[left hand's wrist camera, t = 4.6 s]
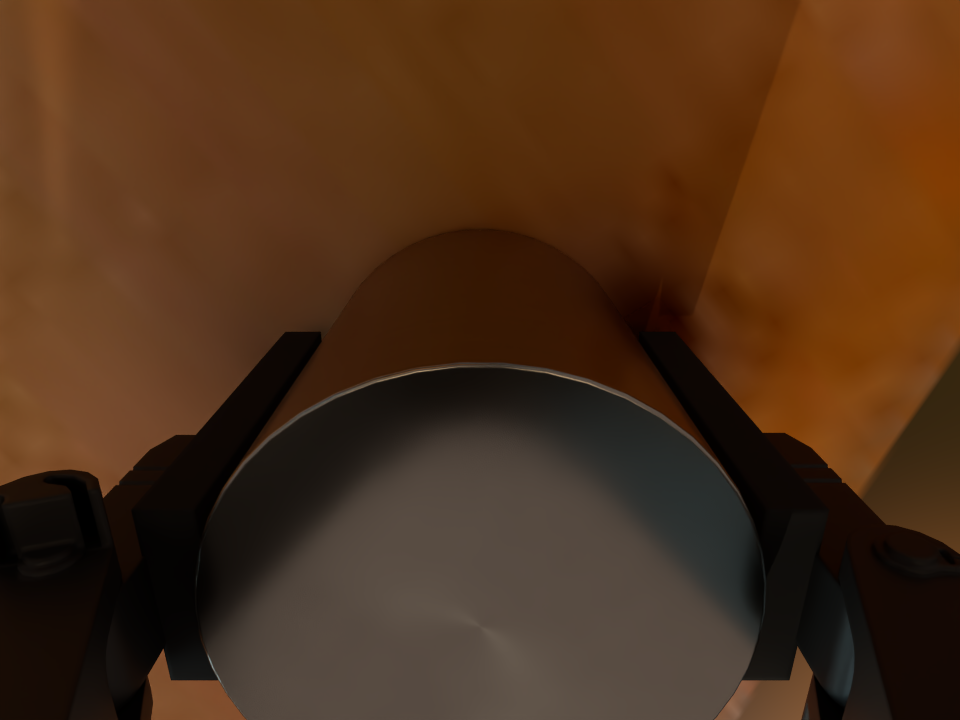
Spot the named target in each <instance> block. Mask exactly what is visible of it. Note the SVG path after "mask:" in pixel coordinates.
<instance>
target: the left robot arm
mask: <svg viewBox="0 0 960 720" xmlns="http://www.w3.org/2000/svg"><path fill="white" fill-rule="evenodd" d="M321 342H322V340H321V332H285V333H284V334H283V335H282V336H281V338H280V339H279V340H278V341H277V342H276V343H275V344H274V346H273V347H272V348H271V349H270V350H269V351H268V353H267V354H266V355H265V356H264V357H263V358H262V359H261V361H260V362H259V363H258V364H257V365H256V366H255V368H254V369H253V370H252V371H251V372H250V373H249V374H248V376H247V377H246V378H245V379H244V380H243V381H242V383H241V384H240V385H239V386H238V387H237V388H236V389H235V391H234V392H233V393H232V394H231V395H230V396H229V398H228V399H227V400H226V401H225V402H224V403H223V404H222V406H221V407H220V408H219V409H218V410H217V411H216V412H215V414H214V415H213V416H212V417H211V418H210V419H209V421H208V422H207V423H206V424H205V425H204V426H203V427H202V429H201V430H200V431H199V432H198V433H197V434H196V435H175V436H174V437H172V438H170V439H168V440H166V441H165V442H163V443H161V444H159V445H158V446H156V447H154V448H152V449H150V450H149V451H148V452H147V453H146V454H145V455H144V456H143V458H142V459H141V460H140V461H139V462H138V463H137V464H136V465H135V466H134V467H133V471H129V472H128V473H127V474H126V475H125V476H124V477H123V478H122V479H121V480H120V481H119V485H116V486H115V487H114V488H113V489H112V490H111V491H110V492H109V493H108V494H107V495H106V496H105V497H104V498H103V497H102V493H101V489H100V485H99V481H98V478H96V477H95V476H93V475H92V474H90V473H88V472H83V471H77V470H59V471H48V472H43V473H39V474H35V475H30V476H26V477H23V478H20V479H17V480H15V481H12V482H10V483H7V484H4V485H2V486H0V720H151V714H152V706H153V699H152V693H151V687H150V683H149V679H148V676H147V675H148V674H149V672H150V670H151V669H152V667H153V665H154V664H155V662H156V660H157V658H158V657H159V655H160V653H161V652H162V650H163V648H164V652H165V657H166V661H167V665H168V669H169V674H170V678H171V680H218V678H217V676H216V674H215V673H214V671H213V669H212V667H211V665H210V662H209V659H208V657H207V654H206V651H205V649H204V646H203V643H202V641H201V637H200V632H199V627H198V622H197V617H196V612H195V591H194V575H195V568H196V560H197V553H198V547H199V544H200V540H201V537H202V534H203V531H204V527H205V524H206V521H207V518H208V516H209V514H210V512H211V510H212V508H213V506H214V504H215V502H216V500H217V498H218V496H219V494H220V492H221V490H222V488H223V487H224V485H225V484H226V482H227V481H228V479H229V478H230V476H231V475H232V473H233V472H234V470H235V469H236V467H237V466H238V464H239V463H240V461H241V460H242V459H243V457H244V456H245V454H246V453H247V451H248V450H249V448H250V447H251V445H252V444H253V442H254V441H255V439H256V438H257V436H258V435H259V433H260V432H261V430H262V429H263V427H264V426H265V425H266V423H267V422H268V420H269V419H270V417H271V416H272V414H273V413H274V411H275V410H276V408H277V407H278V405H279V404H280V402H281V401H282V399H283V398H284V396H285V395H286V394H287V392H288V391H289V389H290V388H291V386H292V385H293V383H294V382H295V380H296V379H297V377H298V376H299V374H300V373H301V371H302V370H303V368H304V367H305V365H306V364H307V362H308V361H309V360H310V358H311V357H312V355H313V354H314V352H315V351H316V349H317V348H318V346H319V345H320V343H321ZM639 343H640V344H641V346H642V347H643V349H644V350H645V352H646V353H647V355H648V356H649V358H650V359H651V361H652V362H653V364H654V365H655V367H656V368H657V369H658V371H659V372H660V374H661V375H662V377H663V378H664V380H665V381H666V383H667V384H668V386H669V387H670V389H671V390H672V392H673V393H674V395H675V396H676V397H677V399H678V400H679V402H680V403H681V405H682V406H683V408H684V409H685V411H686V412H687V414H688V415H689V417H690V418H691V420H692V421H693V423H694V424H695V426H696V427H697V428H698V430H699V431H700V433H701V434H702V436H703V437H704V439H705V440H706V442H707V443H708V445H709V446H710V448H711V449H712V451H713V452H714V454H715V455H716V456H717V458H718V459H719V461H720V462H721V464H722V465H723V467H724V468H725V470H726V471H727V473H728V474H729V476H730V477H731V479H732V480H733V482H734V483H735V485H736V486H737V487H738V489H739V491H740V493H741V495H742V497H743V499H744V501H745V503H746V505H747V507H748V509H749V511H750V513H751V515H752V517H753V519H754V523H755V526H756V529H757V532H758V536H759V539H760V542H761V546H762V549H763V557H764V564H765V572H766V602H765V615H764V619H763V624H762V629H761V634H760V638H759V642H758V645H757V647H756V650H755V653H754V655H753V658H752V660H751V663H750V666H749V668H748V670H747V672H746V674H745V675H744V677H743V679H742V680H790V675H791V671H792V667H793V663H794V658H795V654H796V650H797V646H798V647H799V649H800V651H801V653H802V654H803V656H804V658H805V659H806V661H807V663H808V664H809V666H810V668H811V670H812V671H813V676H812V679H811V684H810V687H809V691H808V695H807V699H806V703H805V707H804V711H803V715H802V719H801V720H960V554H959V553H957V552H956V551H954V550H953V549H951V548H950V547H948V546H947V545H945V544H944V543H943V542H940V541H938V540H936V539H934V538H932V537H929V536H927V535H925V534H923V533H920V532H917V531H914V530H910V529H906V528H902V527H899V526H893V525H886V524H885V523H884V522H883V521H882V520H881V519H880V518H879V517H878V516H877V515H876V514H875V513H874V512H873V511H872V510H871V509H870V508H869V507H868V506H867V505H866V504H865V503H864V502H863V501H862V500H861V499H860V498H859V497H858V496H857V494H856V493H855V492H854V491H853V490H852V489H851V488H850V487H849V486H848V485H847V484H846V483H842V479H841V478H840V477H839V476H838V475H837V474H836V473H835V472H834V471H833V470H832V469H831V468H828V465H827V464H826V463H825V462H824V461H823V460H822V458H821V457H820V456H819V455H818V454H817V453H816V452H815V451H814V450H813V449H812V448H811V447H809V446H807V445H805V444H804V443H802V442H800V441H798V440H796V439H795V438H793V437H791V436H789V435H788V434H786V433H762V432H761V430H760V429H759V428H758V427H757V426H756V425H755V424H754V422H753V421H752V420H751V419H750V418H749V417H748V415H747V414H746V413H745V412H744V411H743V410H742V409H741V407H740V406H739V405H738V404H737V403H736V402H735V400H734V399H733V398H732V397H731V396H730V395H729V394H728V392H727V391H726V390H725V389H724V388H723V387H722V385H721V384H720V383H719V382H718V381H717V380H716V379H715V377H714V376H713V375H712V374H711V373H710V372H709V371H708V369H707V368H706V367H705V366H704V365H703V364H702V362H701V361H700V360H699V359H698V358H697V357H696V356H695V354H694V353H693V352H692V351H691V350H690V349H689V347H688V346H687V345H686V344H685V343H684V342H683V341H682V339H681V338H680V337H679V336H678V335H677V334H676V332H640V334H639Z"/></svg>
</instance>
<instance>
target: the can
mask: <svg viewBox="0 0 960 720" xmlns="http://www.w3.org/2000/svg"><path fill="white" fill-rule="evenodd" d="M194 591H195V612H196V617H197V622H198V627H199V632H200V637H201V641H202V643H203V646H204V649H205V651H206V654H207V657H208V659H209V662H210V665H211V667H212V669H213V671H214V673H215V674H216V676H217V678H218V680H219V682H220V683H221V685H222V687H223V689H224V691H225V693H226V694H227V695H228V697H229V698H230V699H231V701H232V702H233V703H234V705H235V706H236V707H237V709H238V710H239V711H240V713H241V714H242V715H243V716H244V717H245V719H246V720H714V719H715V718H716V717H717V716H718V714H719V713H720V712H721V710H722V709H723V708H724V706H725V705H726V704H727V702H728V701H729V700H730V699H731V697H732V696H733V695H734V693H735V691H736V690H737V688H738V686H739V684H740V682H741V681H742V679H743V677H744V675H745V674H746V672H747V670H748V668H749V666H750V663H751V660H752V658H753V655H754V653H755V650H756V647H757V645H758V642H759V638H760V634H761V629H762V624H763V619H764V615H765V602H766V572H765V564H764V557H763V549H762V546H761V542H760V539H759V536H758V532H757V529H756V526H755V523H754V519H753V517H752V515H751V513H750V511H749V509H748V507H747V505H746V503H745V501H744V499H743V497H742V495H741V493H740V491H739V489H738V487H737V486H736V485H735V483H734V482H733V480H732V479H731V477H730V476H729V474H728V473H727V471H726V470H725V468H724V467H723V465H722V464H721V462H720V461H719V459H718V458H717V456H716V455H715V454H714V452H713V451H712V449H711V448H710V446H709V445H708V443H707V442H706V440H705V439H704V437H703V436H702V434H701V433H700V431H699V430H698V428H697V427H696V426H695V424H694V423H693V421H692V420H691V418H690V417H689V415H688V414H687V412H686V411H685V409H684V408H683V406H682V405H681V403H680V402H679V400H678V399H677V397H676V396H675V395H674V393H673V392H672V390H671V389H670V387H669V386H668V384H667V383H666V381H665V380H664V378H663V377H662V375H661V374H660V372H659V371H658V369H657V368H656V367H655V365H654V364H653V362H652V361H651V359H650V358H649V356H648V355H647V353H646V352H645V350H644V349H643V347H642V346H641V344H640V343H639V341H638V340H637V338H636V337H635V336H634V334H633V333H632V331H631V330H630V328H629V327H628V325H627V324H626V322H625V321H624V319H623V318H622V316H621V315H620V313H619V312H618V310H617V309H616V307H615V306H614V305H613V303H612V302H611V300H610V299H609V297H608V296H607V294H606V293H605V292H604V290H603V289H602V287H601V286H600V285H599V283H598V282H597V281H596V280H595V279H594V278H593V277H592V276H591V275H590V274H589V273H588V272H587V271H586V270H585V269H584V268H583V267H582V266H580V265H579V264H578V263H577V262H575V261H574V260H573V259H572V258H570V257H569V256H567V255H566V254H564V253H562V252H561V251H559V250H557V249H556V248H554V247H552V246H550V245H548V244H545V243H543V242H541V241H538V240H536V239H534V238H531V237H527V236H523V235H520V234H516V233H512V232H505V231H498V230H463V231H455V232H448V233H444V234H441V235H437V236H433V237H429V238H427V239H424V240H422V241H420V242H417V243H415V244H412V245H410V246H408V247H406V248H405V249H403V250H401V251H400V252H398V253H396V254H394V255H393V256H391V257H390V258H389V259H387V260H386V261H385V262H384V263H382V264H381V265H380V266H378V267H377V268H376V269H375V270H374V271H373V272H372V273H371V274H370V275H369V276H368V277H367V278H366V279H365V280H364V281H363V282H362V284H361V285H360V286H359V288H358V289H357V291H356V292H355V293H354V295H353V296H352V298H351V299H350V300H349V302H348V303H347V305H346V306H345V308H344V309H343V311H342V312H341V314H340V315H339V317H338V318H337V320H336V321H335V323H334V324H333V326H332V327H331V329H330V330H329V331H328V333H327V334H326V336H325V337H324V339H323V340H322V342H321V343H320V345H319V346H318V348H317V349H316V351H315V352H314V354H313V355H312V357H311V358H310V360H309V361H308V362H307V364H306V365H305V367H304V368H303V370H302V371H301V373H300V374H299V376H298V377H297V379H296V380H295V382H294V383H293V385H292V386H291V388H290V389H289V391H288V392H287V394H286V395H285V396H284V398H283V399H282V401H281V402H280V404H279V405H278V407H277V408H276V410H275V411H274V413H273V414H272V416H271V417H270V419H269V420H268V422H267V423H266V425H265V426H264V427H263V429H262V430H261V432H260V433H259V435H258V436H257V438H256V439H255V441H254V442H253V444H252V445H251V447H250V448H249V450H248V451H247V453H246V454H245V456H244V457H243V459H242V460H241V461H240V463H239V464H238V466H237V467H236V469H235V470H234V472H233V473H232V475H231V476H230V478H229V479H228V481H227V482H226V484H225V485H224V487H223V488H222V490H221V492H220V494H219V496H218V498H217V500H216V502H215V504H214V506H213V508H212V510H211V512H210V514H209V516H208V518H207V521H206V524H205V527H204V531H203V534H202V537H201V540H200V544H199V547H198V553H197V560H196V568H195V575H194Z"/></svg>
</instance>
